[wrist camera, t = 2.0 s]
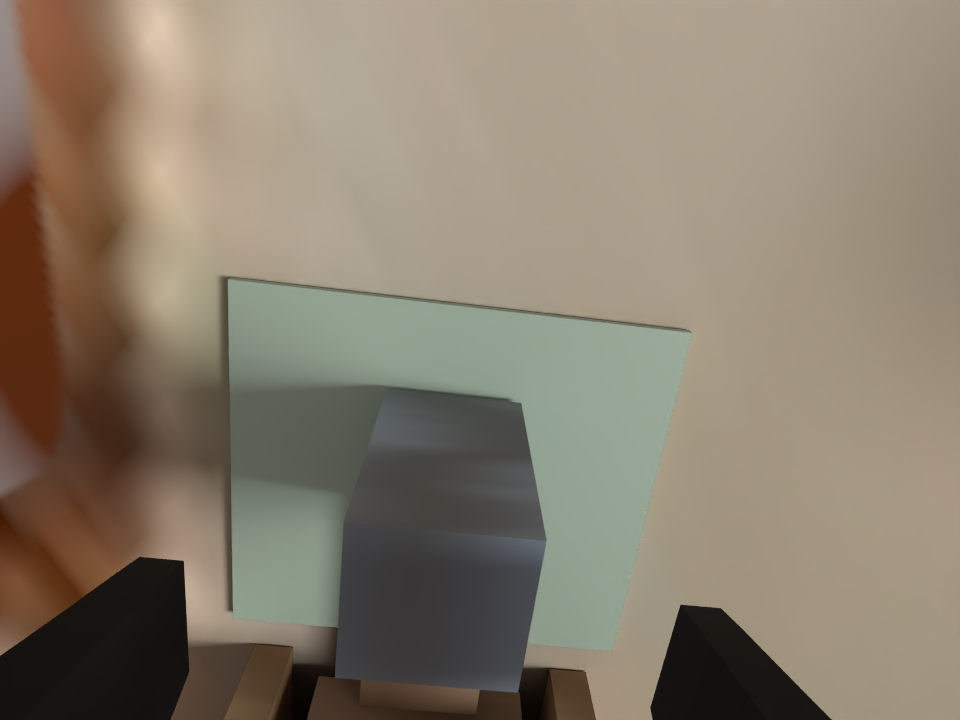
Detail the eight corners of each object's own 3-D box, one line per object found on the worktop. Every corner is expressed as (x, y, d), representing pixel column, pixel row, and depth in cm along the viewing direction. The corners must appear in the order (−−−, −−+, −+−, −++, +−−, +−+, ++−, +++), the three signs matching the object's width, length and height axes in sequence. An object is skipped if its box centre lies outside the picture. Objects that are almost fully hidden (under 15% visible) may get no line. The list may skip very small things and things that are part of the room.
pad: (688, 330, 14) (692, 332, 14) (610, 645, 17) (612, 651, 17) (231, 276, 13) (227, 279, 13) (235, 613, 16) (233, 618, 16)
